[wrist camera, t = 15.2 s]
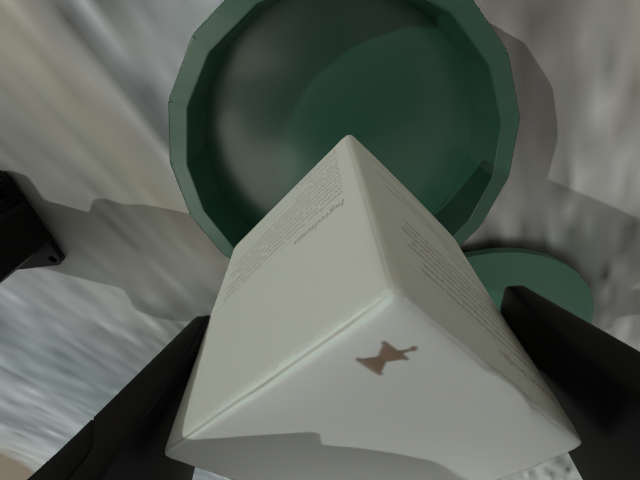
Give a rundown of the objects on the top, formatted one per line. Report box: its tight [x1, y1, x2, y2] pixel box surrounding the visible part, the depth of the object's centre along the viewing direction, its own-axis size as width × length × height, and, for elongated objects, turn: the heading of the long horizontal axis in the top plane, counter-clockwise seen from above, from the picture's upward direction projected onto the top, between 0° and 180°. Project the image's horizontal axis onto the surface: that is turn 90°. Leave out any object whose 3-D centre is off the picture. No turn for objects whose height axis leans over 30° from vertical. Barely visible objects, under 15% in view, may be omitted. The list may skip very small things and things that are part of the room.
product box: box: [165, 135, 582, 480], centre depth 9 cm, size 6×6×7 cm
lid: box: [463, 247, 594, 324], centre depth 24 cm, size 17×17×7 cm
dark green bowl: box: [168, 0, 520, 259], centre depth 17 cm, size 16×16×4 cm
